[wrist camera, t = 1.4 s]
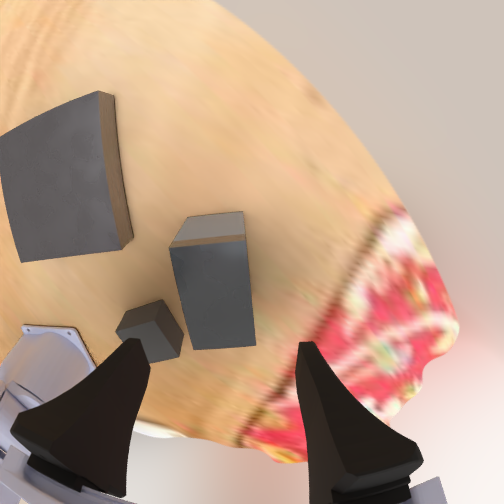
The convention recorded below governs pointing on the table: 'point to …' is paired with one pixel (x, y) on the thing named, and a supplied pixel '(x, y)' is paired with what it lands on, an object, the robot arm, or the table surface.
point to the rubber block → (153, 331)
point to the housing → (214, 281)
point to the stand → (65, 181)
